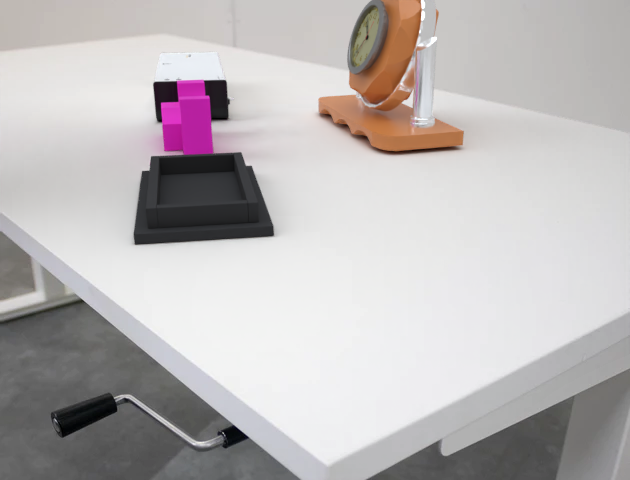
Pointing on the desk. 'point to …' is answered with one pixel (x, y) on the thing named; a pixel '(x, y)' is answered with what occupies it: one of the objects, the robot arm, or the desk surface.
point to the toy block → (188, 120)
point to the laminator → (191, 69)
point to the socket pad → (200, 200)
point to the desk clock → (393, 78)
